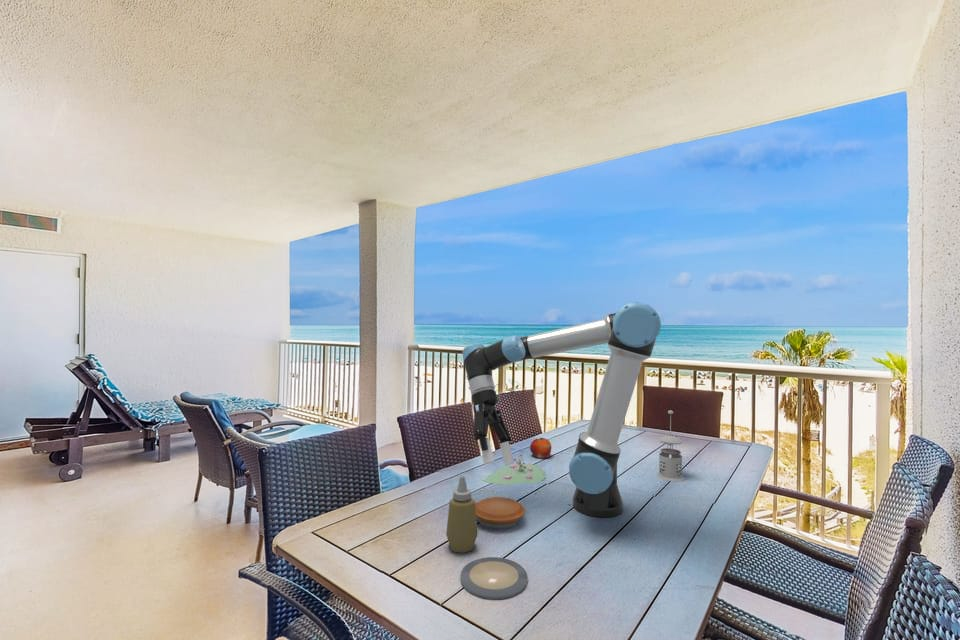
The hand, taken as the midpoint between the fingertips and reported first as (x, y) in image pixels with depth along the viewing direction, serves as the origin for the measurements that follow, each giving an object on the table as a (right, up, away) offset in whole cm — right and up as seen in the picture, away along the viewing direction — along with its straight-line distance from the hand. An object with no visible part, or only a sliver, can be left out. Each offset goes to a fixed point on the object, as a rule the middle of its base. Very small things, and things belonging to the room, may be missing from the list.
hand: (499, 463), depth 125 cm
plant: (+7, -19, +41) cm, 46 cm away
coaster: (-3, -17, -26) cm, 31 cm away
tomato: (+20, -18, +65) cm, 71 cm away
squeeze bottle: (-10, -18, -12) cm, 24 cm away
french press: (+66, -18, +42) cm, 80 cm away
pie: (0, -18, +3) cm, 18 cm away
